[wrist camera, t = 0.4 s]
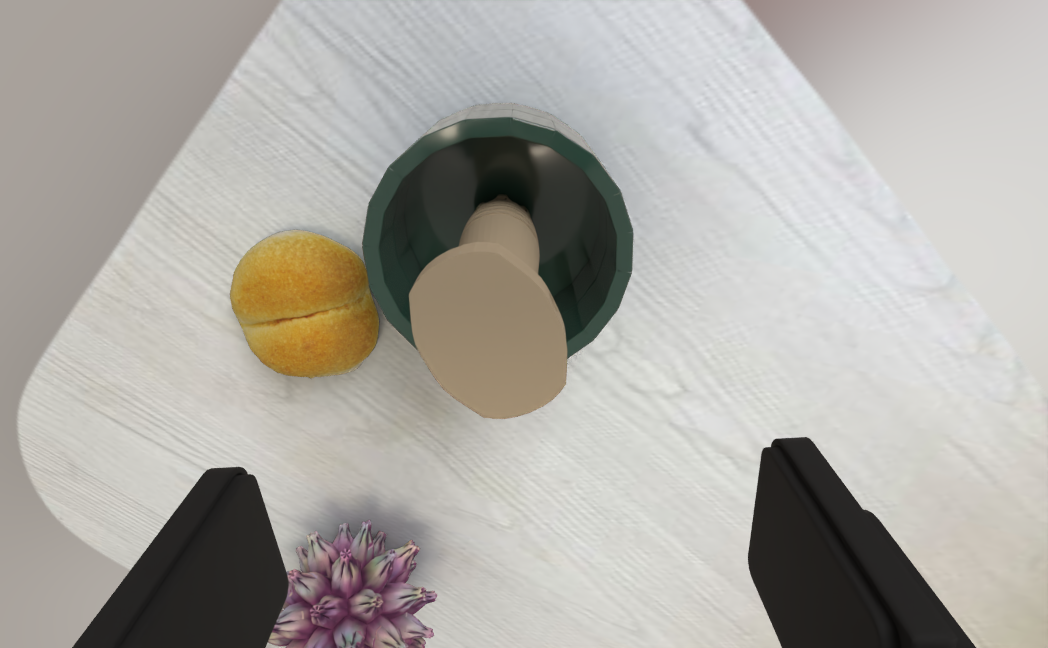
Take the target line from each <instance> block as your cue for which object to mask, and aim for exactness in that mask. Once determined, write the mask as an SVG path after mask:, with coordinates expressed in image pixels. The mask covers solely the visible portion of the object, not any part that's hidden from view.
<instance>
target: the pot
mask: <svg viewBox="0 0 1048 648" xmlns="http://www.w3.org/2000/svg"><path fill="white" fill-rule="evenodd" d="M499 194H504V195H507V196H508V198H509V199H510V200H511V201H513V202H515V203H517V204H518V205H520V206H525V207H526V208H527V210H528V211H529V213H530V216H531V220H532V222H533V225H534V227H535V230H536V234H537V238H538V244H539V254H540V258H539V269H538V275H539V276H540V277H541V278H542V280H543V281H544V283H545V284H546V286H547V287H548V289H549V291H550V293H551V295H552V297H553V299H554V301H555V303H556V305H557V307H558V310H559V312H560V314H561V317H562V320H563V322H564V327H565V332H566V344H567V359H568V358H569V357H570V356H572V355H573V354H575V353H576V352H578V351H579V350H581V349H582V348H583V347H585V346H586V345H588V344H589V343H591V342H592V341H593V340H594V339H595V338H596V337H597V336H598V334H599V333H600V332H601V330H602V329H603V328H604V327H605V325H606V324H607V323H608V322H609V320H610V319H611V318H612V316H613V315H614V314H615V313H616V311H617V310H618V308H619V306H620V304H621V301H622V298H623V295H624V293H625V290H626V287H627V285H628V282H629V279H630V277H631V274H632V261H633V228H632V225H631V222H630V219H629V216H628V212H627V209H626V206H625V203H624V200H623V196H622V193H621V191H620V189H619V188H618V186H617V185H616V183H615V182H614V180H613V179H612V177H611V176H610V175H609V173H608V172H607V170H606V169H605V167H604V166H603V164H602V163H601V162H600V160H599V159H598V158H597V156H596V155H595V153H594V152H593V151H592V149H591V148H590V147H589V145H588V144H587V143H586V141H585V140H584V139H583V137H582V136H581V135H580V134H579V133H577V132H576V131H575V130H573V129H572V128H570V127H569V126H568V125H567V124H565V123H564V122H562V121H560V120H559V119H557V118H556V117H554V116H553V115H552V114H549V113H547V112H544V111H541V110H538V109H534V108H531V107H528V106H524V105H519V104H515V103H492V104H483V105H475V106H471V107H469V108H467V109H463V110H461V111H459V112H456V113H454V114H452V115H450V116H447V117H445V118H443V119H441V120H439V121H438V122H437V123H436V124H435V125H433V126H432V127H431V128H430V129H429V130H428V131H427V132H426V133H425V134H423V135H422V136H421V137H420V138H419V139H418V140H417V141H416V142H415V143H413V144H412V145H411V146H410V147H409V148H408V149H407V150H406V151H405V152H404V153H403V154H402V155H401V156H399V157H398V158H397V159H396V160H395V161H394V162H393V163H392V164H391V165H390V166H389V167H388V169H387V170H386V172H385V174H384V176H383V178H382V180H381V181H380V183H379V185H378V187H377V189H376V191H375V193H374V194H373V196H372V198H371V200H370V202H369V205H368V209H367V216H366V222H365V229H364V235H363V241H362V245H363V246H362V249H363V254H364V260H365V265H366V271H367V277H368V282H369V287H370V289H371V291H372V292H373V294H374V296H375V298H376V300H377V302H378V304H379V306H380V307H381V309H382V311H383V313H384V315H385V317H386V319H387V320H388V321H389V322H390V323H391V324H392V325H393V326H394V327H395V328H396V329H397V330H398V331H399V332H400V333H401V334H402V335H403V336H404V337H405V338H406V339H407V340H408V341H409V342H410V343H411V344H412V345H413V346H414V347H415V348H416V349H417V347H416V345H415V341H414V337H413V333H412V325H411V315H410V302H409V293H410V291H411V289H412V287H413V285H414V283H415V281H416V279H417V277H418V276H419V274H420V273H421V272H422V270H423V269H424V268H425V267H426V265H428V264H429V263H430V262H431V261H432V260H434V259H435V258H436V257H438V256H439V255H441V254H443V253H445V252H446V251H448V250H450V249H453V248H456V247H458V246H459V242H460V239H461V236H462V233H463V230H464V228H465V225H466V224H467V222H468V220H469V219H470V217H471V215H472V214H473V213H474V211H475V210H476V208H477V207H478V205H479V204H480V203H482V202H483V203H486V202H489V201H491V200H493V199H495V198H496V197H497V196H498V195H499ZM417 350H418V349H417Z"/></svg>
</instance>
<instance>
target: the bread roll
mask: <svg viewBox="0 0 1048 648" xmlns="http://www.w3.org/2000/svg"><path fill="white" fill-rule="evenodd" d="M230 299H231V304H232V309H233V311H234V313H235V315H236V317H237V319H238V321H239V323H240V325H241V327H242V329H243V332H244V335H245V337H246V340H247V342H248V344H249V346H250V349H251V350H252V351H253V353H254V354H255V355H256V356H257V357H258V358H259V359H260V360H261V362H262V363H264V364H265V365H266V366H268V367H269V368H271V369H273V370H274V371H276V372H277V373H281V374H284V375H288V376H298V377H309V378H314V377H324V376H331V375H340V374H344V373H348V372H351V371H354V370H356V369H357V368H358V367H359V366H360V365H361V363H362V361H363V360H364V359H365V358H366V357H368V356H369V354H370V353H371V352H372V350H373V349H374V347H375V345H376V343H377V339H378V330H379V318H378V313H377V310H376V307H375V304H374V301H373V299H372V296H371V292H370V289H369V282H368V277H367V271H366V268H365V265H364V263H363V261H362V260H361V258H360V257H359V256H358V255H357V254H356V253H355V252H353V251H352V250H351V249H349V248H347V247H346V246H344V245H342V244H340V243H338V242H336V241H334V240H332V239H329V238H327V237H325V236H322V235H319V234H316V233H312V232H308V231H302V230H289V231H282V232H278V233H275V234H273V235H271V236H269V237H268V238H266V239H264V240H262V241H260V242H259V243H257V244H256V245H255V246H253V247H252V248H251V249H250V250H249V251H248V252H247V253H246V254H245V255H244V256H243V258H242V259H241V260H240V262H239V264H238V266H237V267H236V270H235V272H234V275H233V281H232V286H231V291H230Z"/></svg>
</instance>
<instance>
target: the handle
mask: <svg viewBox="0 0 1048 648" xmlns="http://www.w3.org/2000/svg"><path fill="white" fill-rule="evenodd" d="M539 258H540V254H539V244H538V238H537V234H536V230H535V227H534V225H533V222H532V220H531V216H530V213H529V211H528V210H527V208H526V207H525V206H520V205H518V204H517V203H515V202H513V201H511V200H510V199H509V198H508V196H507V195H504V194H499V195H498V196H497V197H496V198H495V199H493V200H491V201H489V202H486V203H483V202H482V203H480V204H479V205H478V207H477V208H476V210H475V211H474V213H473V214H472V215H471V217H470V219H469V220H468V222H467V224H466V225H465V228H464V230H463V233H462V236H461V239H460V242H459V246H458V247H456V248H453V249H450V250H448V251H446V252H445V253H443V254H441V255H439V256H438V257H436V258H435V259H434V260H432V261H431V262H430V263H429V264H428V265H426V267H425V268H424V269H423V270H422V272H421V273H420V274H419V276H418V277H417V279H416V281H415V283H414V285H413V287H412V289H411V291H410V293H409V302H410V315H411V325H412V333H413V337H414V341H415V345H416V347H417V349H418V351H419V353H420V355H421V357H422V359H423V360H424V362H425V363H426V365H427V366H428V368H429V370H430V371H431V373H432V374H433V376H434V378H435V379H436V380H437V382H438V383H439V384H440V386H441V387H442V388H443V389H444V390H445V391H446V392H447V393H448V394H450V395H451V396H452V397H453V398H455V399H456V400H458V401H459V402H461V403H462V404H463V405H465V406H466V407H468V408H470V409H471V410H473V411H474V412H476V413H477V414H479V415H481V416H482V417H484V418H492V419H506V418H512V417H518V416H521V415H524V414H527V413H530V412H532V411H534V410H536V409H538V408H541V407H543V406H544V405H546V404H547V403H548V402H550V401H551V400H553V399H554V398H555V397H556V396H557V395H558V394H559V393H560V391H561V390H562V389H563V387H564V386H565V385H566V373H567V344H566V332H565V327H564V322H563V320H562V317H561V314H560V312H559V310H558V307H557V305H556V303H555V301H554V299H553V297H552V295H551V293H550V291H549V289H548V287H547V286H546V284H545V283H544V281H543V280H542V278H541V277H540V276H539V275H538V269H539Z"/></svg>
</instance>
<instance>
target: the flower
mask: <svg viewBox="0 0 1048 648" xmlns="http://www.w3.org/2000/svg"><path fill="white" fill-rule="evenodd" d="M306 537H307V540H308V543H309V546H308V551H307V550H305V549H304V548H303V547H302V546H300V547H298V548H296V553H297V555H298V556H299V560H300V568H301V571H302V572H300V571H298V570H296V569H294V570H292V571H287V572H286V573H287V576H288V580H289V588H288V594H287V598H286V601H285V603H284V605H283V609H284V610H282V611H281V612H280V615H279V617H278V619H277V622H276V624H275V626H274V629H273V631H272V633H271V635H270V638H269V640H268V643H271V644H274V645H278V646H287V645H288V646H287V647H286V648H425V646H424V645H425V644H426V642H425V640H424V639H423V638H422V637H425V638H431V637H433V636H434V633H433V629H431V628H428V627H426V626H424V625H423V624H422V623H421V622H420V621H419V620H418V619H417V618H416V617H415V616H413V615H412V614H414V613H416V612H417V611H418V610H419V609H421V608H422V607H423V606H424V605H425V604H427V603H430V602H434V601H435V598H436V597H437V594H436V593H434V592H435V591H426V588H424V587H414V586H412V585H410V584H406V581H407V580H408V578H409V576H410V574H411V572H412V571H413V569H414V568H415V567H416V563H415V561H414V560H413V558H414V557H415V555H416V554H417V553H418V552H419V550H420V548H418V546H415V544H414V542H413V540H410V541H409V542H408V543H407V544H406V545H404V546H403V547H401V548H398V549H392V550H388V551H386V552H385V547H384V541H385V538H386V534H385V533H384V532H381V531H379V532H378V534H377V536H376V537H375V539H374V540H373V539H372V535H371V523H370V520H367V521H366V522H362V525H361V528H360V531H359V533H358V534H357V536H356V537H355V538H354V539H353V537H352V535H351V534H350V531H349V524H348V523H347V524H345V523H344V524H342V525H341V524H340V526H339V531H338V535H337V537H336V539H335V540H334V542H333V543H330V542H328V541H326V540H324V539H323V538H321V537H320V535H319V534H318V532H317V531H315V532H314V533H310V535H307V536H306ZM412 560H413V561H412Z"/></svg>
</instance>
